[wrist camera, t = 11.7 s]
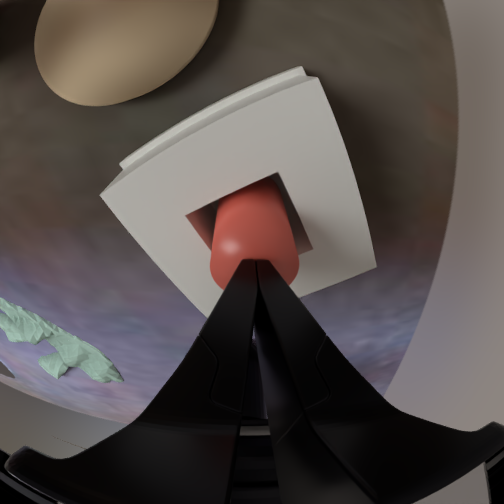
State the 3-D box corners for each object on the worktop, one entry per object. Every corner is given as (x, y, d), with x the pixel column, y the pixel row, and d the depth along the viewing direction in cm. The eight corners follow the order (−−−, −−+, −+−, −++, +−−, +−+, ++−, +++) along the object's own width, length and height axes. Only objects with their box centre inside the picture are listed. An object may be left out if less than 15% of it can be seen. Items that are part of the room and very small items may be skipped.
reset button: (290, 212, 12) (310, 281, 9) (237, 235, 13) (236, 307, 10) (265, 161, 11) (278, 216, 7) (207, 189, 12) (192, 254, 8)
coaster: (255, 36, 9) (256, 34, 8) (92, 137, 11) (83, 143, 10) (168, -81, 3) (164, -89, 3) (27, 25, 6) (15, 25, 5)
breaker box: (356, 222, 15) (383, 268, 11) (216, 277, 17) (213, 330, 14) (297, 66, 10) (322, 66, 6) (126, 156, 12) (90, 192, 9)
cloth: (148, 382, 29) (145, 399, 27) (49, 377, 32) (46, 389, 30) (29, 259, 16) (15, 279, 14) (-36, 293, 19) (-43, 305, 17)
